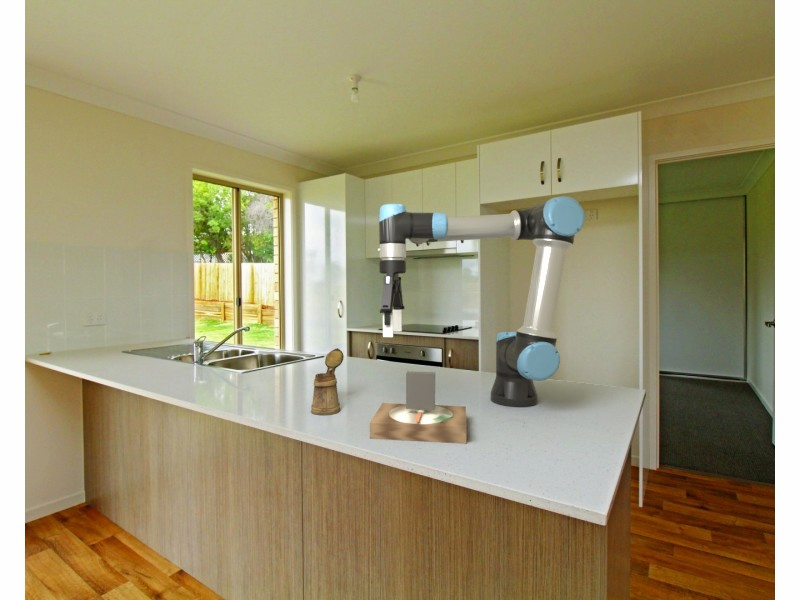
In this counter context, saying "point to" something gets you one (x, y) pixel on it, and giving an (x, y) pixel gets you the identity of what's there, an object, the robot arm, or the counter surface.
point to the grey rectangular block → (420, 391)
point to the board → (419, 424)
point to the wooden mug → (327, 386)
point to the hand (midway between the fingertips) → (392, 334)
